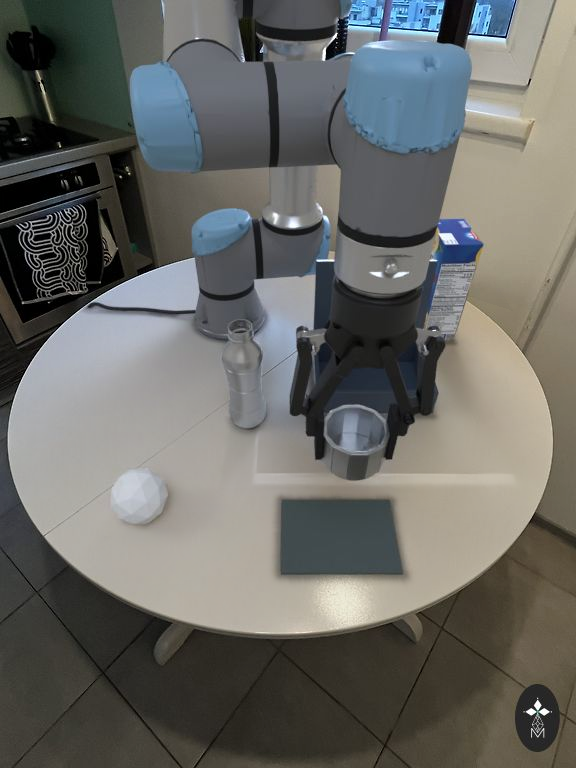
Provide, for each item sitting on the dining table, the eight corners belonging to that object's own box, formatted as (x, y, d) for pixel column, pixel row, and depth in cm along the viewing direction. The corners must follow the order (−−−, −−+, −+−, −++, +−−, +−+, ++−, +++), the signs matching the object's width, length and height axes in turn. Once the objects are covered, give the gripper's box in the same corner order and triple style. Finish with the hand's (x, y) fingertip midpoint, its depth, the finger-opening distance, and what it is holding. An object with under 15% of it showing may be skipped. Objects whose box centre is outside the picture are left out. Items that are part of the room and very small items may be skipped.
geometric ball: (135, 519, 68) (99, 482, 65) (178, 486, 69) (145, 448, 66) (133, 547, 61) (93, 506, 58) (182, 510, 62) (144, 468, 59)
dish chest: (431, 416, 80) (439, 392, 76) (315, 416, 80) (316, 392, 76) (414, 362, 90) (420, 339, 86) (311, 362, 90) (313, 339, 87)
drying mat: (280, 574, 59) (280, 572, 59) (281, 501, 67) (281, 499, 67) (402, 574, 59) (403, 572, 59) (389, 501, 67) (389, 499, 67)
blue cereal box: (420, 343, 95) (445, 245, 80) (408, 313, 103) (429, 219, 88) (453, 342, 95) (483, 244, 80) (438, 313, 103) (464, 218, 88)
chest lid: (438, 261, 76) (436, 259, 77) (316, 261, 76) (315, 259, 77) (421, 338, 86) (420, 336, 86) (313, 338, 86) (313, 336, 87)
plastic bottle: (272, 410, 81) (269, 317, 67) (258, 437, 76) (251, 344, 63) (239, 401, 82) (229, 309, 69) (223, 428, 78) (209, 335, 64)
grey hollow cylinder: (322, 482, 51) (324, 454, 48) (318, 432, 56) (320, 404, 53) (387, 482, 51) (394, 454, 48) (378, 432, 56) (383, 404, 53)
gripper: (253, 301, 35) (264, 477, 50) (518, 300, 35) (447, 476, 50) (258, 255, 40) (266, 426, 56) (486, 254, 40) (431, 426, 56)
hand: (352, 450), depth 53 cm, fingers closed on grey hollow cylinder, 7 cm apart
